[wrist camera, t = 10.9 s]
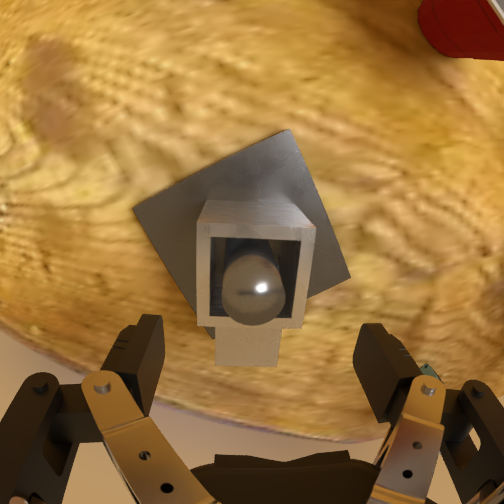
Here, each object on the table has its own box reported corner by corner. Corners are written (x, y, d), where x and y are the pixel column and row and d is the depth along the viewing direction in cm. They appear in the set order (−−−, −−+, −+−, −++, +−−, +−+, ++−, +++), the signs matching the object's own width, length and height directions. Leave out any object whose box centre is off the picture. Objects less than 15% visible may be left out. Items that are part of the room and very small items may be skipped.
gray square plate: (287, 129, 21) (321, 123, 12) (346, 272, 25) (394, 335, 16) (136, 205, 22) (84, 245, 14) (213, 332, 26) (206, 412, 18)
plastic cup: (376, -36, 16) (450, -104, 5) (471, -6, 16) (554, -36, 5) (398, 76, 20) (508, 50, 8) (491, 94, 20) (591, 96, 9)
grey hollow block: (206, 199, 21) (196, 222, 16) (294, 204, 22) (316, 228, 16) (205, 322, 24) (198, 372, 19) (281, 324, 25) (293, 374, 19)
